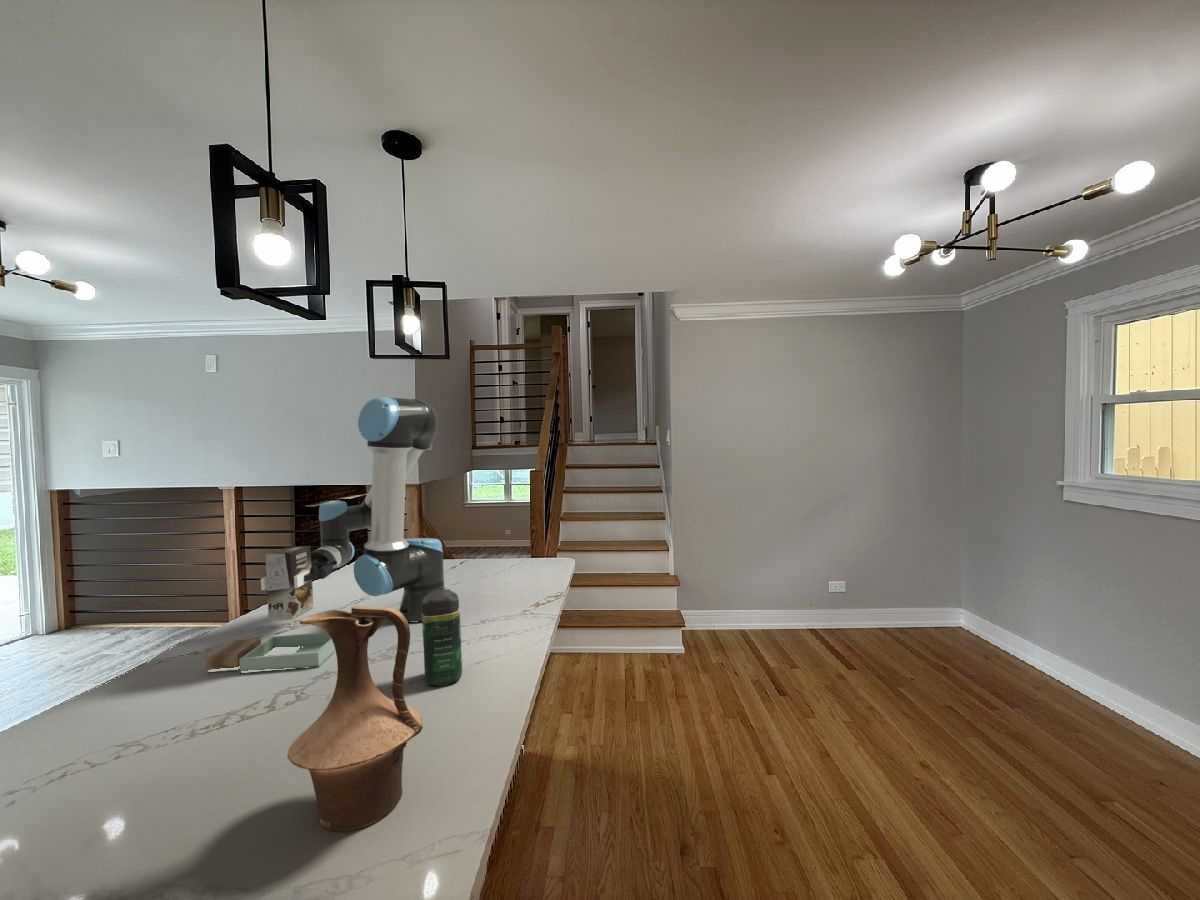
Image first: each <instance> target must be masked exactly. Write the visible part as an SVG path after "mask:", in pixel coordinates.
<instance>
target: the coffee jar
mask: <svg viewBox="0 0 1200 900" xmlns="http://www.w3.org/2000/svg"><path fill="white" fill-rule="evenodd" d="M421 606H422V622H421V623H422V624H421V625H422V641H423V644H422V645H423V663H424V664H423V665H424V666H423V667H424V669H423V670H424V680H425V681H424V682H426V685H429V686H438V687H439V686H448V685H451V684H452V683H454V682H458V681H459V680H460V679H461V678H462V675H463V659H462V655H463V654H462V635H461V634H462V631H461V615H460V613H461V612H460V601H459V596H458V594H457V593H456V592H454V591H452V590H450V589H449V588H447V589H445V590H437V591H431V592H430V593H429V594H428V595H426V596H425V597H424V598H423V600H422V604H421Z"/></svg>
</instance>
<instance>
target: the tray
mask: <svg viewBox="0 0 1200 900" xmlns="http://www.w3.org/2000/svg"><path fill="white" fill-rule="evenodd" d="M298 646H300V648H299V650H297V651H296V653H293V654H281V655H268V656H264V655H265V654H267V653H268V652H269V651H271V650H272V649H273V648H275V647H298ZM302 646H303V648H302ZM335 651H336V650H335V647H334V644H333V641H332V639H331V637H330V636H329V634H328V633H327V632H326V631H325V632H314V633H301V634H289V635H287V634H286V635H279V636H278V635H277V636H275V635H274V636H271V637H269V638H268V639H267V640H265V641H263V642H262V643H261V645H259V646H258V647H256V648H255V649H253V650H252V651H250V652H249V653H247V654H246V655H244V656H243V657H242V658H240V659H239V663H240V670H239V672H240V671H248V670H265V669H284V668H305V667H319V668H320V667H322V665H324V663H326V661H328V660H329V659H330V658H331V657H332V656H333V655H334V654H335V653H336V652H335ZM334 652H335V653H334ZM333 653H334V654H333ZM332 654H333V655H332ZM331 655H332V656H331ZM330 656H331V657H330ZM329 657H330V658H329ZM328 658H329V659H328ZM327 659H328V660H327Z"/></svg>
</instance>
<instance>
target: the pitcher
mask: <svg viewBox="0 0 1200 900" xmlns="http://www.w3.org/2000/svg"><path fill="white" fill-rule="evenodd" d="M350 608H351V611H348V610H339V609H331V610H330V609H329V610H325V611H320V612H316V613H314V614H311V615H309V616H306V617H303V618H301V619H300V620H299V625H309V626H316V628H317V627H318V628H319V629H321V630H324V631H325V632H327V633H328V634H329V636H330V637H331V639H332V641H333V644H334V647H335V650H336V652H335V656H336V661H337V677H336V684H335V688H334V690H333V695H332V697H331V700H330V701H329V702H328V705H327V706H326V708H325V710H324V711H323V712H322V713H321V714H320V716H318V718H317V719H316V720H315V721H314V722H313V723H312V724H310V726H308V727H307V728H306V729H305V730H304V731H302V733H300V735H298V736H297V737H296V738H295V739H294V740H293V741H292V743H291V744H290V746H289V747H288V752H287V759H288V760H289V762H290V763H291V764H292V765H293V766H295V767H297V768H299V769H302V770H303V769H304V770H307V771H308V772H309V774H310V778H311V780H312V781H311V782H312V784H313V785H312V786H313V790H314V794H315V800H316V801H315V802H316V806H317V811H318V812H317V813H318V821H319V823H320V825H321V827H324V828H325V829H327V830H329V831H335V832H346V831H352V830H353V831H354V830H358V829H361V828H364V827H367V826H369V825H371V824H373V823H375V822H377V821H379V820H380V819H383V818H384V817H385V816H386V815H387V814H389V813H390V812H391V811H393V809H394V808H395V807H396V806H397V805H398V804H399V802H400V800H401V798H402V796H403V783H402V778H403V761H404V749H405V748H406V747H407V744H408V741H410V740H411V739H413V738H414V737H416V736H418V735H419V734H420V733H421V732H422V730H423V728H424V726H423V725H422V720H423V719H422V717H421V716H422V715H420V713H419V712H418V710H416V709H415V708H414V707H412V706H410V705H407V703H406V700H405V697H404V678H405V673H406V664H407V660H408V659H407V658H408V655H409V650H410V643H411V629H410V625H409V622H407V620H406V618H405V617H404V616H403V614H402V613H401V612H399V609H398V610H397V609H395V608H392V607H386V606H363V605H354V606H352V607H350ZM385 620H386V621H388V622H391V623H392V624H393V625H394V627H395V629H396V632H397V647H396V654H395V659H394V665H393V672H392V685H391V689H392V691H391V692H392V696H393V697H392V699H393V700H392V699H391V698H388V696H386V695H385V694H383V693H382V692H381V691H380V689H378V687H377V685H376V683H375V682H374V680H373V678H372V676H371V673H370V672H371V671H370V668H369V658H368V648H369V647H368V646H369V639H370V638H372V637H373V636H374V635H375V634H376V632H377V630H378V629H379V628H380V626H381V625H382V623H383V622H384V621H385Z"/></svg>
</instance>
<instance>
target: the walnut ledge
mask: <svg viewBox="0 0 1200 900" xmlns="http://www.w3.org/2000/svg"><path fill="white" fill-rule="evenodd" d="M261 644H262V643H261V638H249V639H237V640H235V639H234V640H230V641H228V642H227V643H225V644H224V645H222V646H219V648H216V649H215V650H214V651H212V652H210V653H209V654H207V655H206V656H205V660H206V662H205V664H206V665H205V666H206V671H207V670H211V669H220V668H234V667H239V666H240V663H239V659H240V658H242V657H243V656H244V655H246V654H247V653H249V652H250V651H252V650H253V649H255V648H256V647H258V646H259V645H261Z"/></svg>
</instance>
